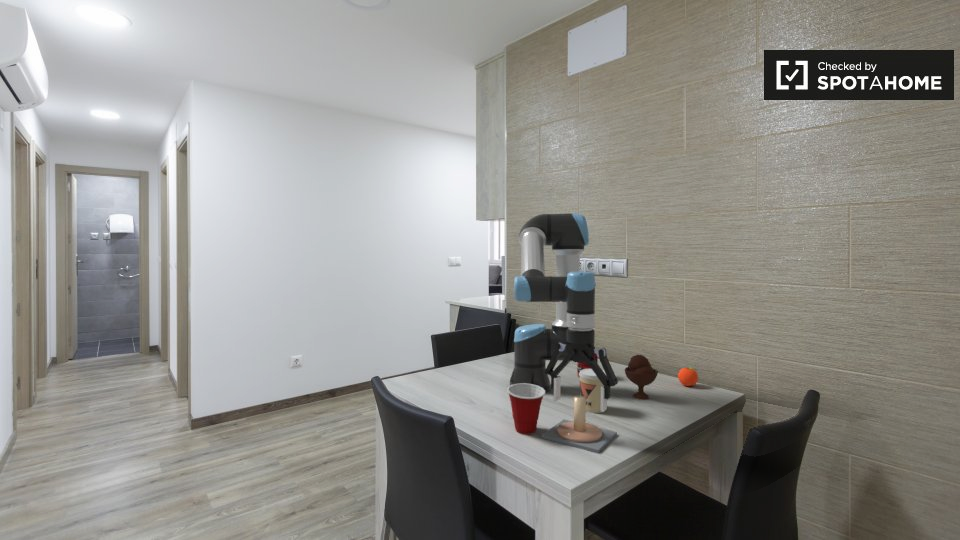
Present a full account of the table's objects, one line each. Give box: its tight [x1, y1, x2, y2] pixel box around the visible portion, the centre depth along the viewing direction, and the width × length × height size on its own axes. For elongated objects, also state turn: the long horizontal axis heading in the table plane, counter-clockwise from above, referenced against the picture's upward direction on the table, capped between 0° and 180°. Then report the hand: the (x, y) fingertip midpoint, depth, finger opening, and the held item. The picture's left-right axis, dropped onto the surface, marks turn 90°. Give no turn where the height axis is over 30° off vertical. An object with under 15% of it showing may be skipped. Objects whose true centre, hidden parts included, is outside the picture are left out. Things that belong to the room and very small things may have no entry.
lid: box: [557, 395, 602, 443], centre depth 123 cm, size 12×12×10 cm
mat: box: [541, 419, 618, 454], centre depth 123 cm, size 16×14×1 cm
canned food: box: [576, 353, 599, 379], centre depth 181 cm, size 8×8×11 cm
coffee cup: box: [579, 369, 607, 414], centre depth 144 cm, size 9×9×12 cm
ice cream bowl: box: [624, 354, 659, 400], centre depth 156 cm, size 11×11×15 cm
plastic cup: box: [506, 383, 546, 435], centre depth 127 cm, size 11×11×12 cm
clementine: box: [677, 366, 699, 387], centre depth 169 cm, size 8×7×7 cm
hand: (579, 404), depth 123 cm, fingers open, 13 cm apart
